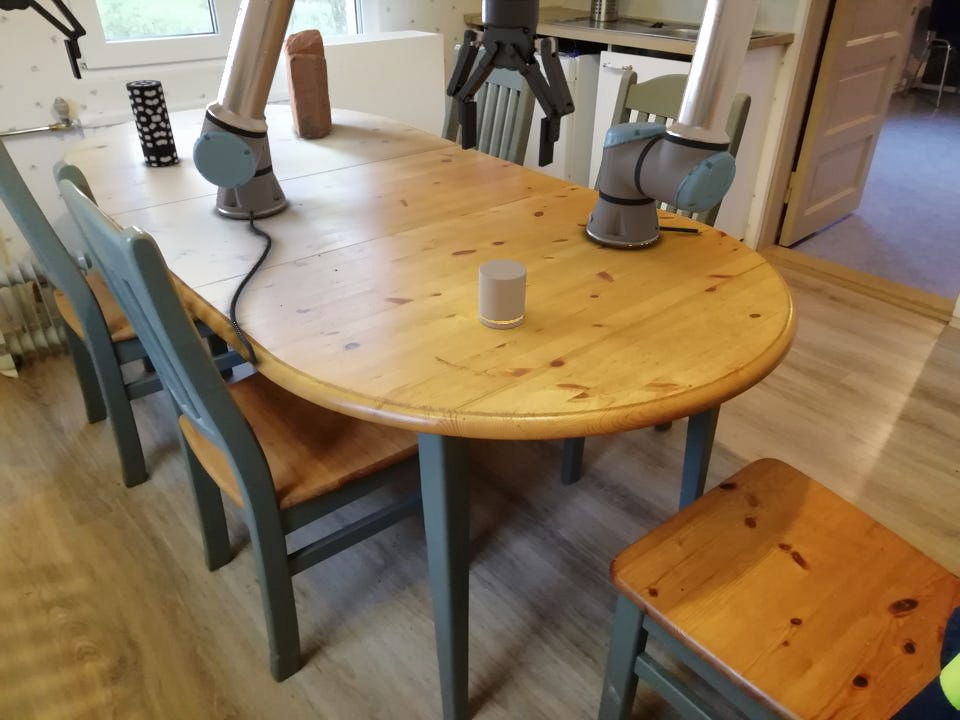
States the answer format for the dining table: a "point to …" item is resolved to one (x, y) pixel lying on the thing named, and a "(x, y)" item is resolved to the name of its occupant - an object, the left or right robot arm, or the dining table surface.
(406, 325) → the dining table surface
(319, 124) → the stone
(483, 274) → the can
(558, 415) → the dining table surface
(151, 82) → the black white spotted cylinder
